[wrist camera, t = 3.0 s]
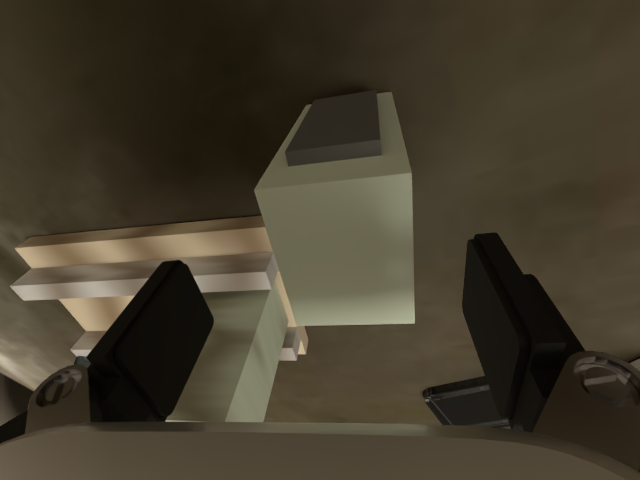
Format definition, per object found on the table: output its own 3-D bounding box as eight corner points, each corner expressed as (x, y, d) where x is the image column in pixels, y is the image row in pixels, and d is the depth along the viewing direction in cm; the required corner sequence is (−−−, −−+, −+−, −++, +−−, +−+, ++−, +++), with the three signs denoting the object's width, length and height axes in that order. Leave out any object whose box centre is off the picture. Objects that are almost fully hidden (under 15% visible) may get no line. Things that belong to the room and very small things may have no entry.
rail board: (116, 342, 33) (18, 472, 24) (30, 236, 26) (-156, 366, 17) (308, 339, 29) (280, 495, 20) (271, 214, 22) (199, 367, 13)
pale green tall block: (324, 202, 21) (296, 325, 13) (304, 95, 18) (249, 174, 9) (396, 195, 20) (414, 323, 12) (391, 81, 17) (411, 155, 9)
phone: (420, 396, 31) (609, 360, 25) (419, 385, 32) (601, 348, 26) (450, 435, 35) (622, 411, 29) (449, 424, 36) (615, 399, 30)
